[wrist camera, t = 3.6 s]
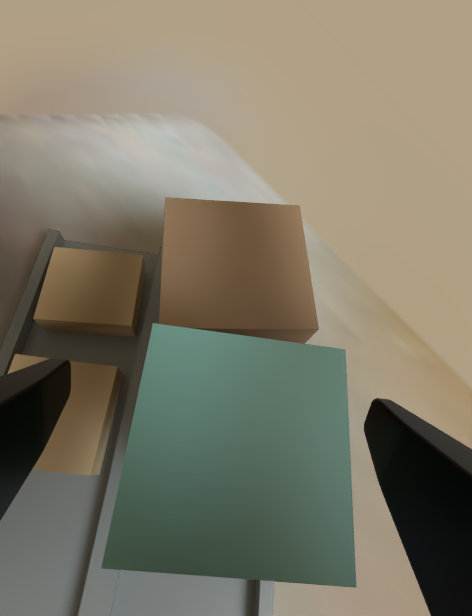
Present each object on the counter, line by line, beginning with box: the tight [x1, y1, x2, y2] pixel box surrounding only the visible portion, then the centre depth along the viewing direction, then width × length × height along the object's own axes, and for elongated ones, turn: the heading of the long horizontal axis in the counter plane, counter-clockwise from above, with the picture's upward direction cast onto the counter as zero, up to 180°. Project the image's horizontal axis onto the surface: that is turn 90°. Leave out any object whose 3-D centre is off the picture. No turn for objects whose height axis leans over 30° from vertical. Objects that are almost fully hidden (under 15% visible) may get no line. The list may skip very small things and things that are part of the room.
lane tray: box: [0, 229, 274, 616], centre depth 14 cm, size 12×19×2 cm, turn 175°
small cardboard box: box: [33, 247, 146, 337], centre depth 16 cm, size 4×4×2 cm
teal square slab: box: [101, 323, 356, 587], centre depth 11 cm, size 4×10×10 cm, turn 174°
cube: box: [159, 198, 319, 344], centre depth 13 cm, size 5×5×5 cm
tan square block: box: [8, 354, 123, 475], centre depth 14 cm, size 4×4×2 cm
